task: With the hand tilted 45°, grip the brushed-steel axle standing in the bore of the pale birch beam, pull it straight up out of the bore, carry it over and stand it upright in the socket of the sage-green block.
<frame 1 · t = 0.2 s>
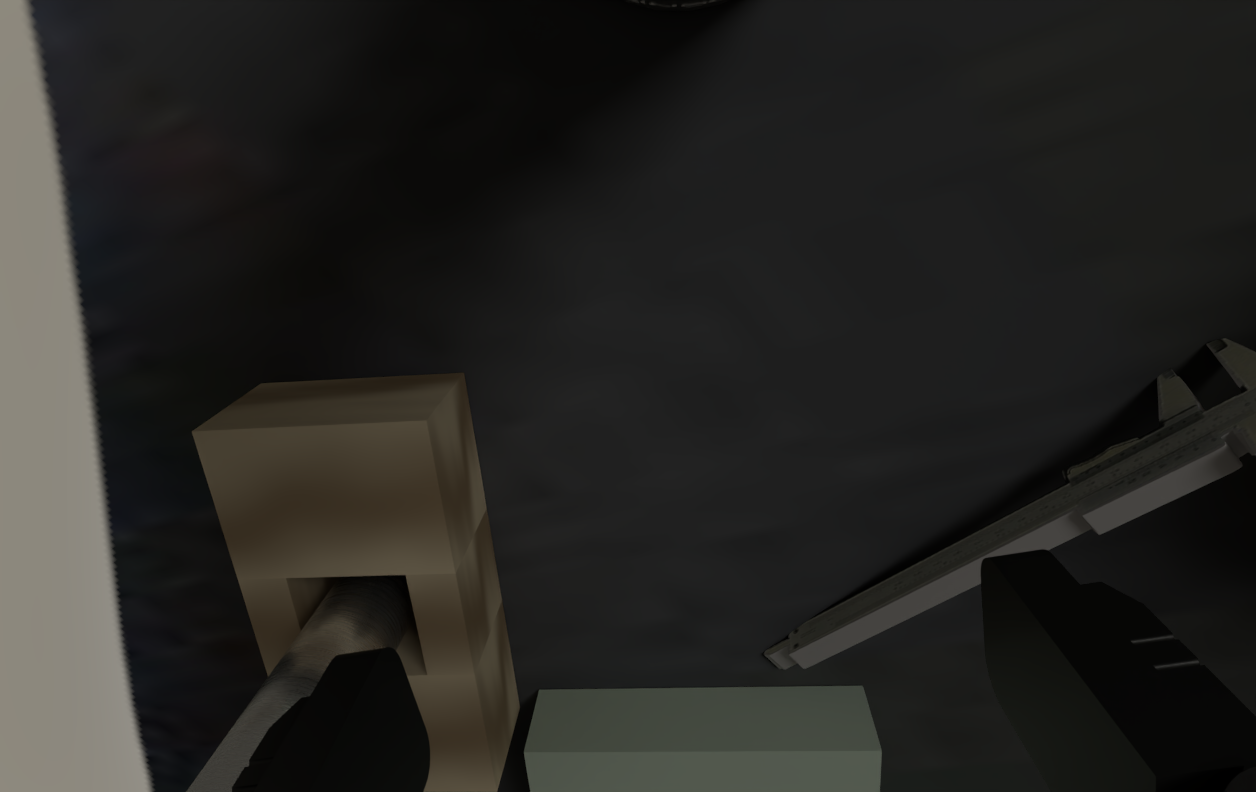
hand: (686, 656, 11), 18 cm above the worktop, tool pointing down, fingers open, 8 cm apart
axle: (322, 686, 25), in the beam
beam: (400, 558, 32), on the worktop
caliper: (970, 512, 30), on the worktop
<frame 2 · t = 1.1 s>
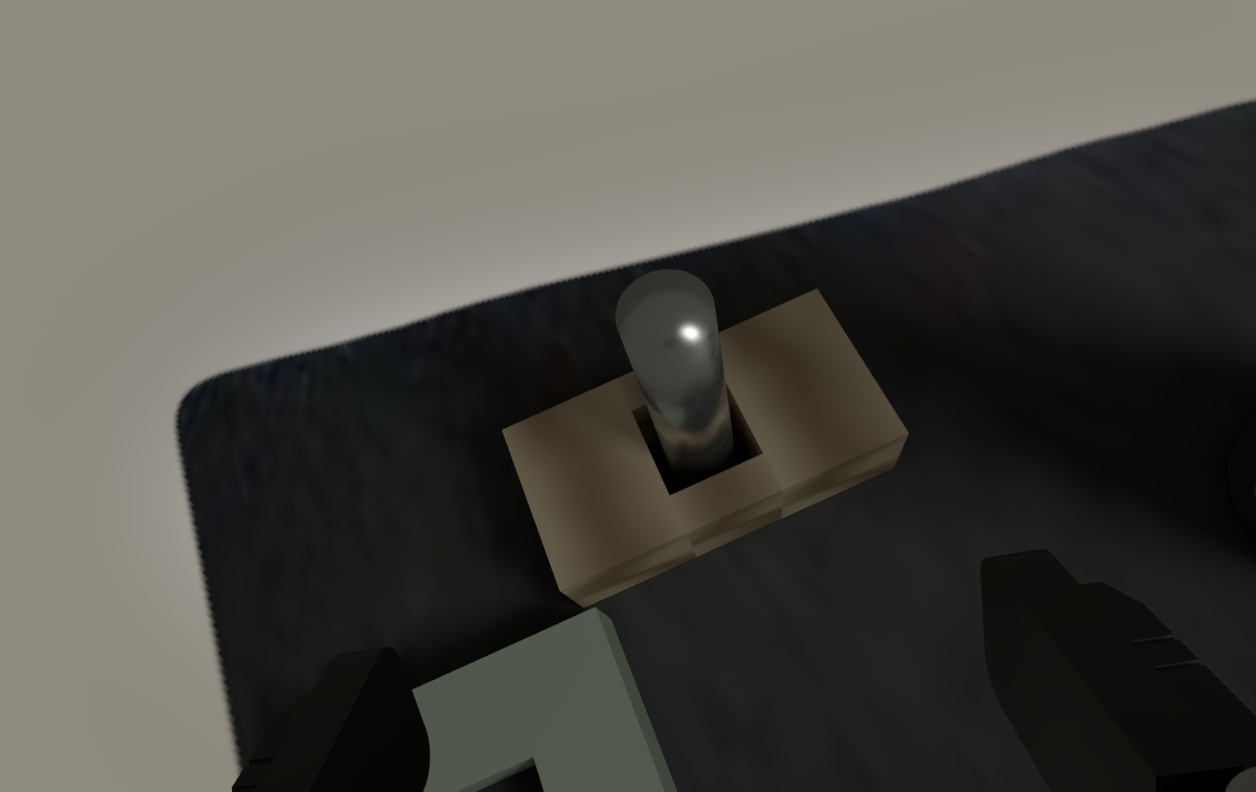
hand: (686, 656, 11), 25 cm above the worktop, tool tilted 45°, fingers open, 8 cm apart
axle: (688, 404, 31), in the beam
beam: (703, 464, 38), on the worktop
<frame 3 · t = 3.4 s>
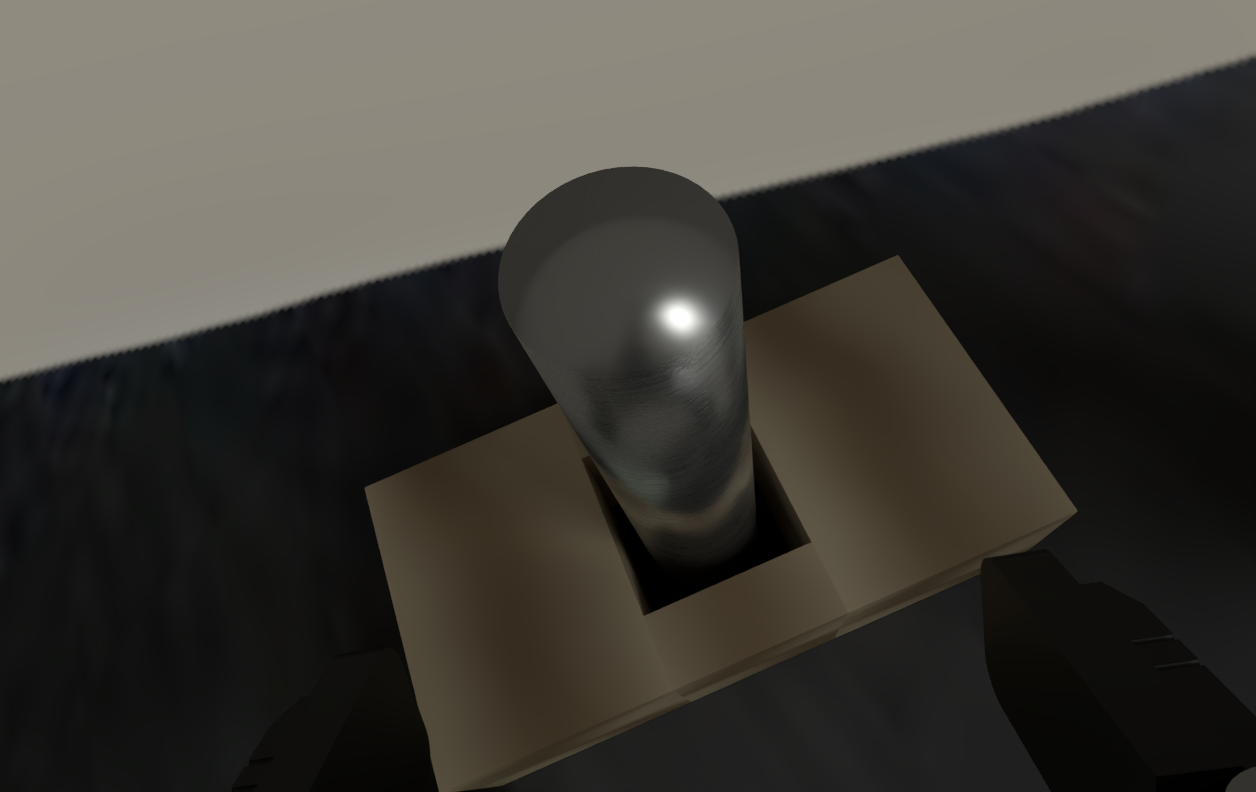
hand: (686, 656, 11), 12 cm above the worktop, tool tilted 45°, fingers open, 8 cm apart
axle: (677, 458, 17), in the beam
beam: (704, 541, 24), on the worktop
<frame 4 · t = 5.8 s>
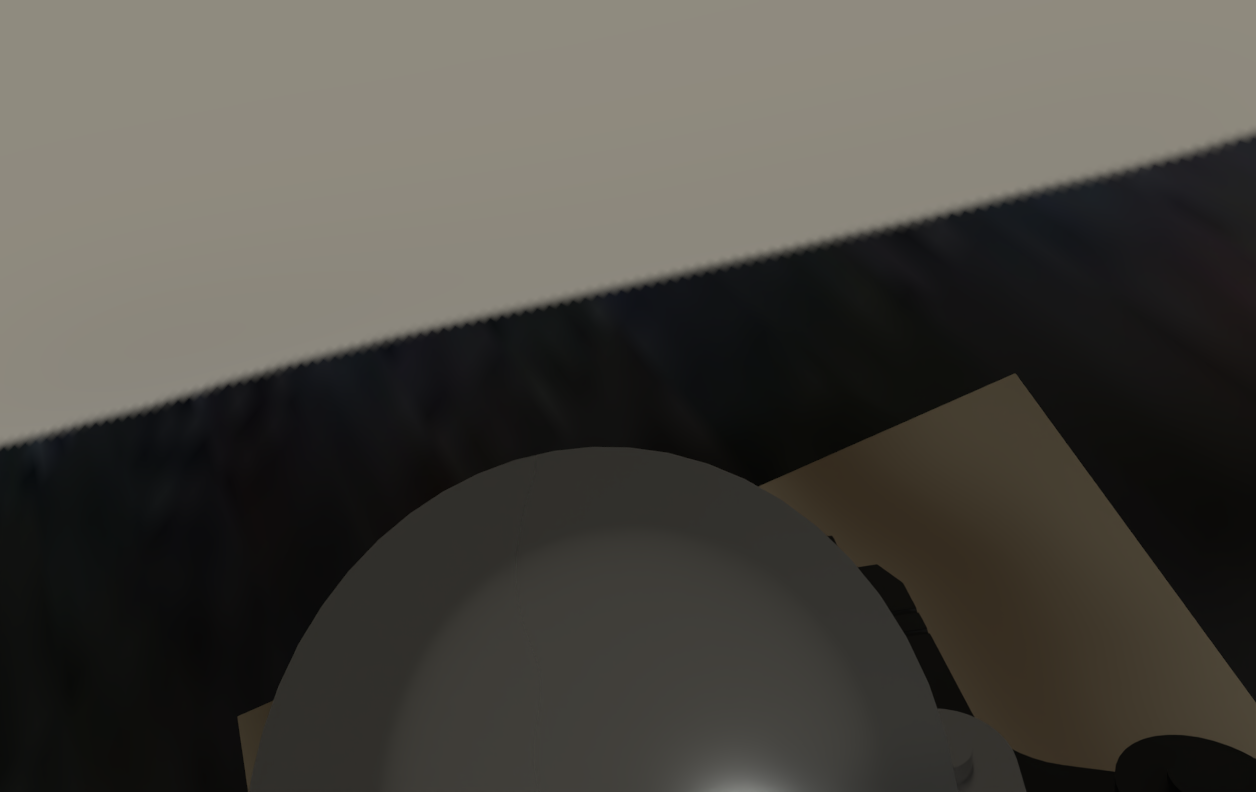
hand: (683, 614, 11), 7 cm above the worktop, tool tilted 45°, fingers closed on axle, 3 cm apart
axle: (704, 763, 10), in the beam, touching gripper
beam: (730, 759, 17), on the worktop
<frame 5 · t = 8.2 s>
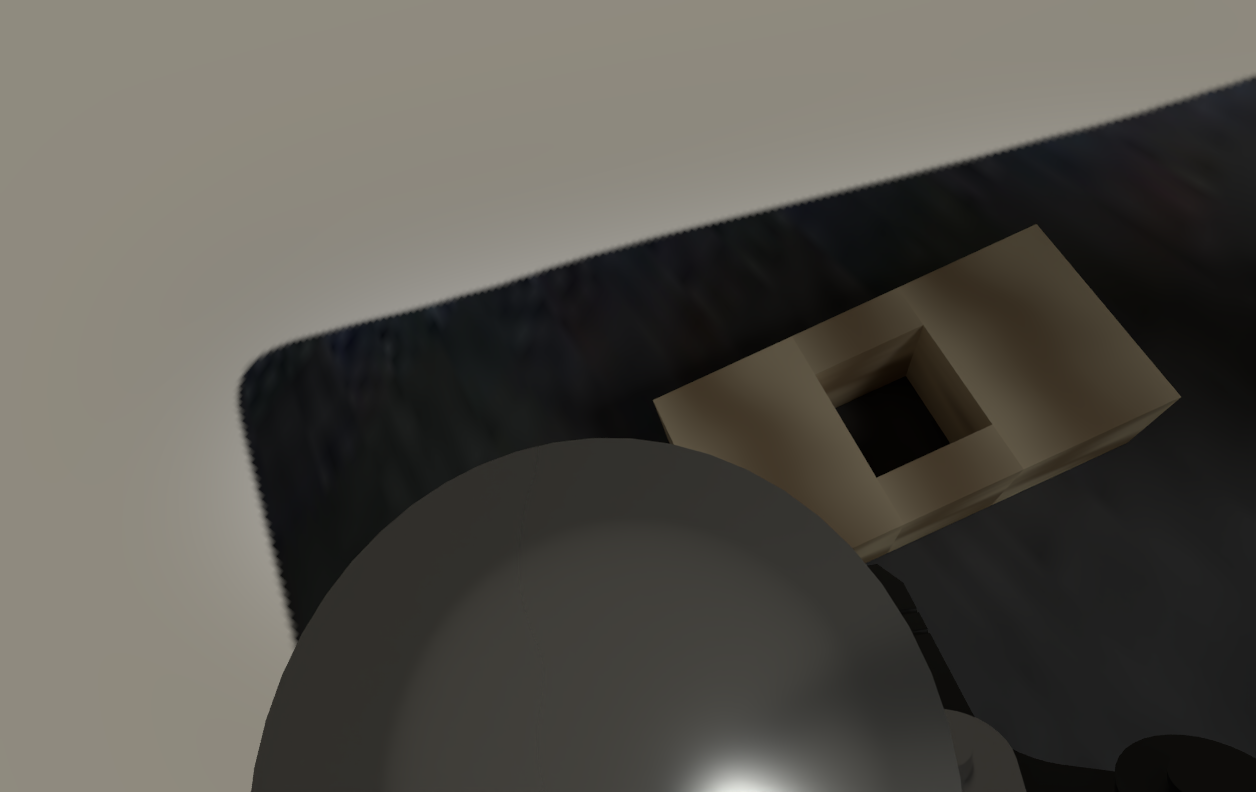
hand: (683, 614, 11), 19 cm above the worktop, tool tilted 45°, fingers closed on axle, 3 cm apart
axle: (705, 759, 10), point 20 cm above the worktop, touching gripper
beam: (885, 441, 32), on the worktop
when the fingers open (8 cm above the worktop, at t = 10.9 s): axle drops 1 cm, resting in socket block.
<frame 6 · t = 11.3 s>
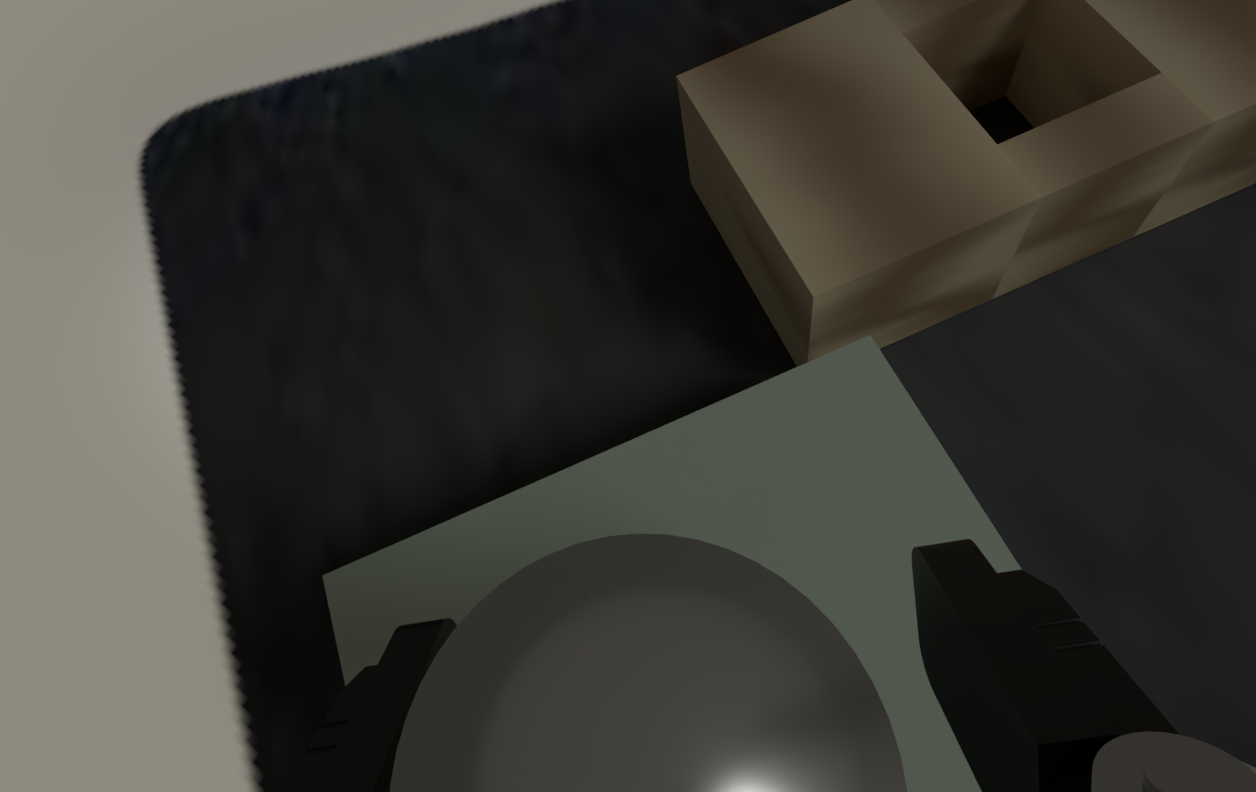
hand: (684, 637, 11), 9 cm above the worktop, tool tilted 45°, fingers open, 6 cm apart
socket block: (732, 759, 18), on the worktop
axle: (715, 769, 11), in the socket block
beam: (982, 170, 24), on the worktop
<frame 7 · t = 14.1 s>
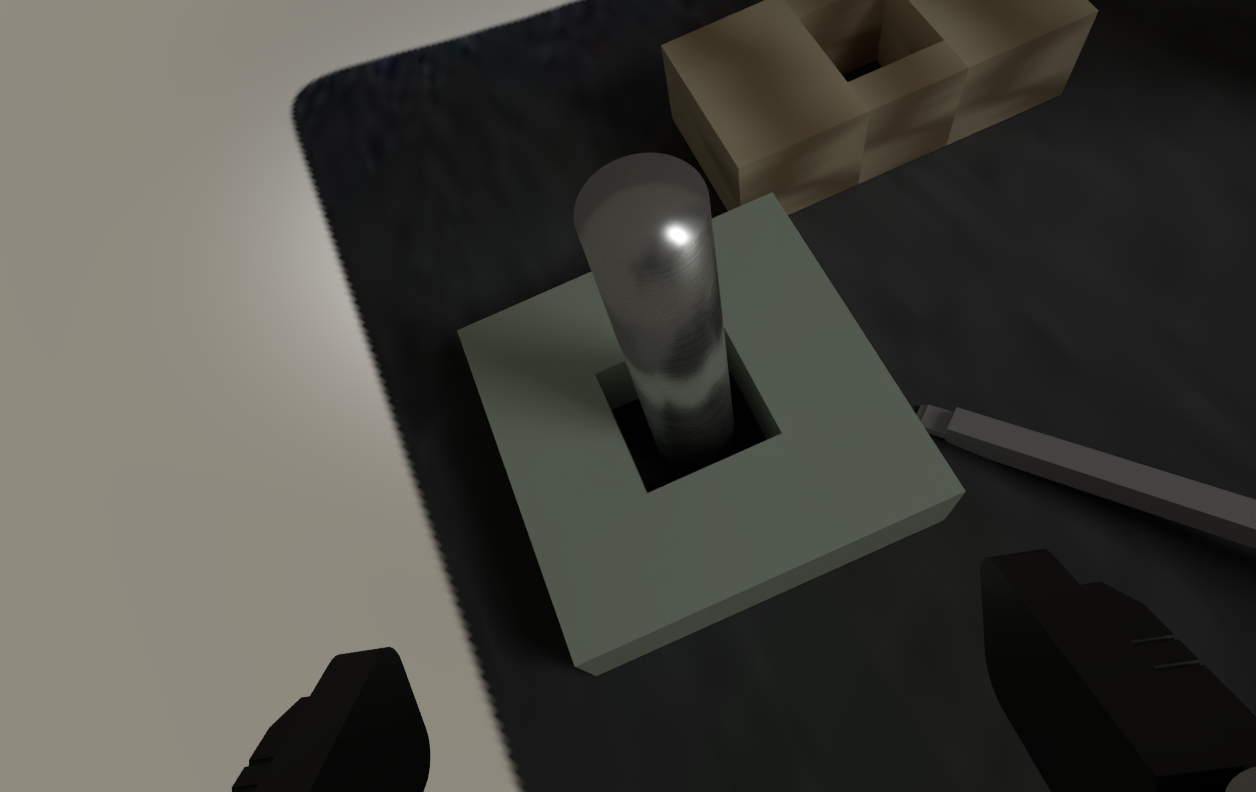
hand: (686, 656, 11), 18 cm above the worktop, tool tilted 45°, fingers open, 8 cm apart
socket block: (693, 437, 32), on the worktop
axle: (675, 354, 25), in the socket block
beam: (858, 107, 37), on the worktop
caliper: (1196, 537, 27), on the worktop
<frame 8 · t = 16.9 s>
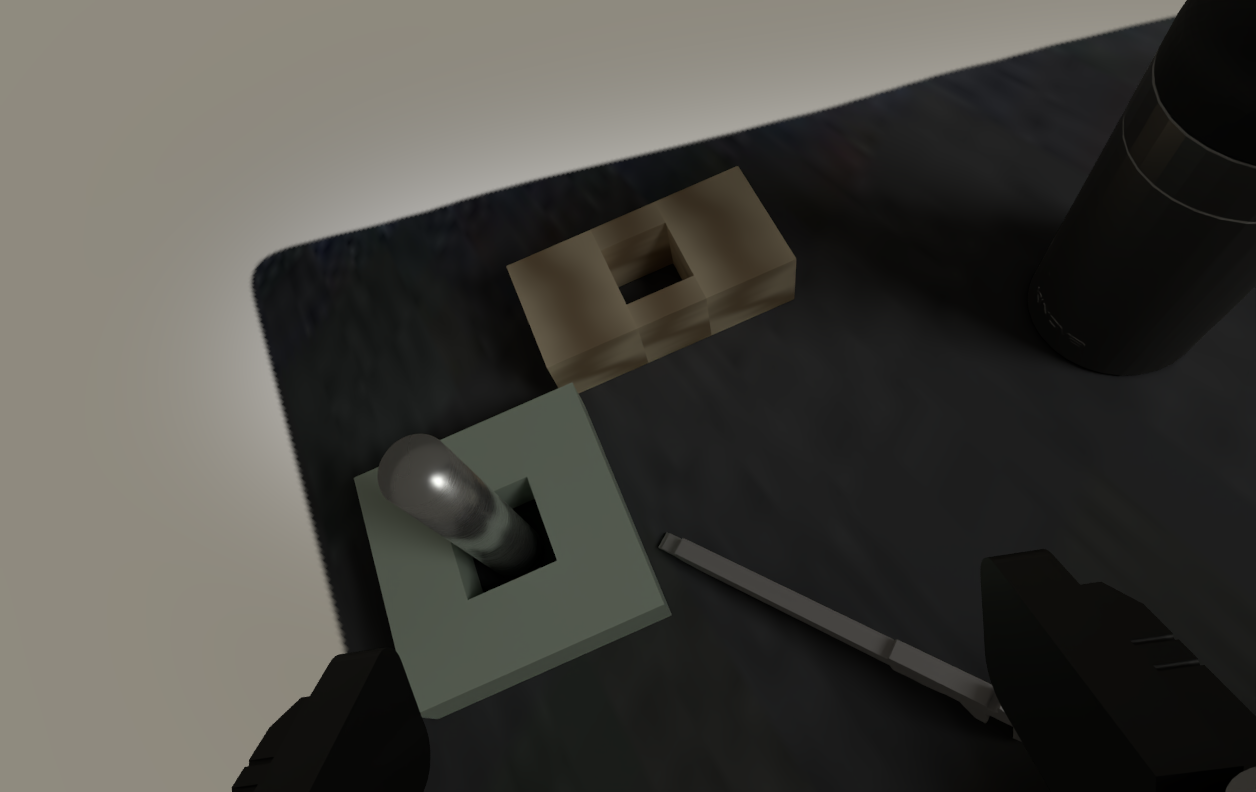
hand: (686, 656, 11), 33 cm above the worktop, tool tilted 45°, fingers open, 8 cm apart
socket block: (516, 551, 46), on the worktop
axle: (475, 518, 39), in the socket block
beam: (655, 301, 51), on the worktop
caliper: (828, 630, 42), on the worktop
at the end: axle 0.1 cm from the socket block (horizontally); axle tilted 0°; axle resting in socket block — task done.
